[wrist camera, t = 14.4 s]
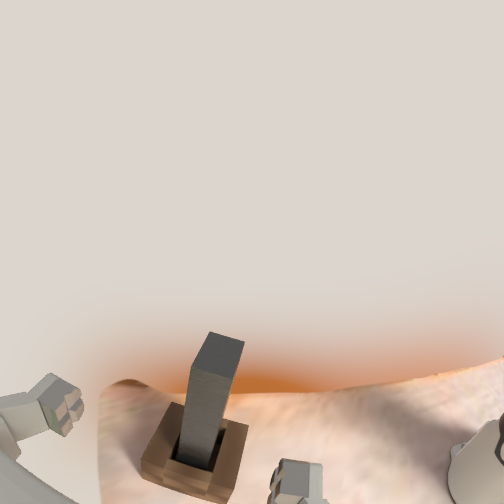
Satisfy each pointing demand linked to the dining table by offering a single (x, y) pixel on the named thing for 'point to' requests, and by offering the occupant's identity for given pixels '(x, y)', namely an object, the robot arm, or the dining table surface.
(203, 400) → the gray rectangular bar
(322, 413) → the dining table surface
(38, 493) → the robot arm
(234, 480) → the brown square socket block
